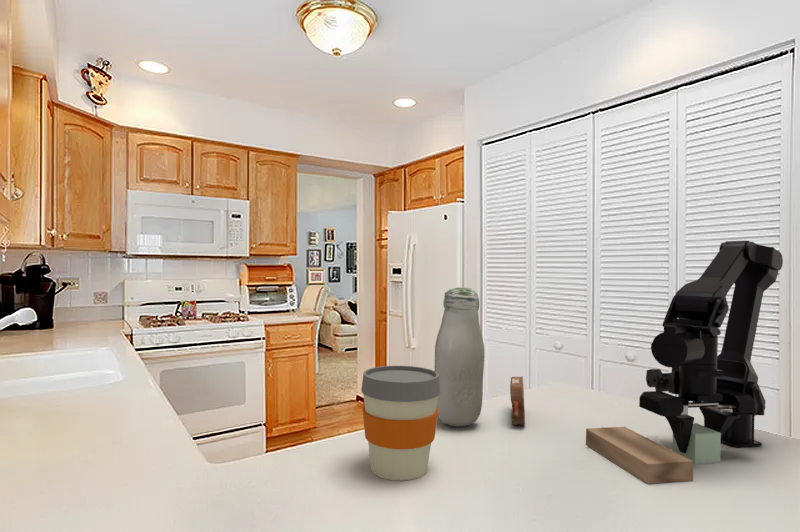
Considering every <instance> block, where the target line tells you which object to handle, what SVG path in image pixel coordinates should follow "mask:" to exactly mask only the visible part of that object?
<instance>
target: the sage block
mask: <svg viewBox="0 0 800 532" xmlns="http://www.w3.org/2000/svg"><path fill="white" fill-rule="evenodd" d="M721 445H722V442H721V433H720V432H717V431H715V430H712V429H710V428H707V427H705V426H704V425H703V424H702V425H701V424H699V423H697V422H695V423H693V427H692V431H691V436H690V440H689V445H688V448H687V451H686V453H682V452H680V451H679V449H678V446H677V443H676V440H675V438H674V435H673V434H672V447H671V450H672V451H674V452H676V453H678V454H680V455H682V456H684V457H686V458H688V459H690V460H692V461H693V465H702V464H703V465H704V464H716V463H717V464H718V463H721Z"/></svg>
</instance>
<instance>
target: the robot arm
mask: <svg viewBox="0 0 800 532" xmlns="http://www.w3.org/2000/svg"><path fill="white" fill-rule="evenodd" d="M718 250H719V251H718V252H717V254H716V255H715V256H714V258H713V259H712V260H711V262H710V263H709V264H708V266H707V267H706V268H705V270H704V271H703V273H702V274H701V275H700V277H699V278H698V279H696V280H694V281H690V282H687V283H685V284H684V285H683V286H682V287H681V288H680V289H678V290H677V292H676V293H675V294H674V295H673V296H672V298H671V301H670V304H669V307H668V309H667V311H666V314H665V317H664V320H663V321H662V327H663V331H662V332H660V333H658V334H657V335H656V336H655V337H654V338H653V340H652V343H651V344H650V350H651V354H652V356H653V359H655V361H656V362H657V363H658V364H660V365H662V366H664V367H665V368H671V372H662V370H661V369H660V368H651V369H647V370H646V373H645V381H646V385H647V387H648V388H654V391H653V390H652V391H651V390H650V391H643V392H642V393H641V394H640V395H639V400H638V401H639V402H638V403H639V405H638V407H639V408H641V409H644V410H646V411H648V412H651V413H652V414H653V413H654V414H655V415H658V416H660V417H664V418H665V419H666V420H667V422H668V424H669V427H670V429H671V432H672V436H673V435H674V438H675V440H676V443H677V446H678V449H679V451H680V452H682V453H686V451H687V448H688V445H689V440H690V436H691V431H692V427H693V424H694V421H695V417H694V416H692V415H689V409H690V408H698V409H699V410H700V413H701V414H702V416H703V426H705V427H707V428H710V429H712V430H715V431H717V432H720V433H721V443H723V444H725V445H728V446H730V447H733V448H739V447H740V448H741V447H742V448H743V447H753V446H754V447H756V446H757V447H759V446H762V444H763V442H761V441H759V440H756V439H755V417H756V416H765V410H766V400H765V397H764V395H763V392H762V389H761V387H760V386H759V384H758V382H759V376H758V374H757V372H756V370H755V369H754V367H753V365H752V362H751V360H752V359H751V358H752V354H753V349H754V344H755V337H756V333H757V327H758V322H759V318H760V312H761V307H762V301H763V296H764V292H765V291H766V290H767V289H768V288H770V287H771V286H772V285H773V284H775V283H776V281H777V278H778V274H779V271H781V269H782V268H783V263H784V259H783V254H782V253H781V252H780V251H779V250H777V248H775V247H774V246H767V245H762V244H758V243H755V242H754V241H750V240H730V241H729V240H728V241H727V240H726V241H725V242H721V243H720V245H719V249H718ZM733 285H734V288H733V289H734V290H733V294H732V300H731V303H730V308H729V304H728V300H727V295H728V292H729V291H730V290H731V288H732V287H733ZM728 313H729V314H728ZM727 314H728V318H727V322H726V327H725V333H724V337H723V343H722V347H721V352H720V353H719V352H718V351H719V350H718V347H719V346H718V345H719V344H718V343H719V342H718V341H719V340H718V339H719V336H720V335H721V334H722V331H721V330H720V328H721V326H722V325H723V322H724V320H725V318H726V316H727ZM718 353H719V354H718ZM667 392H668V393H667ZM676 395H677V396H676Z"/></svg>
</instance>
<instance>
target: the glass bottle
mask: <svg viewBox="0 0 800 532" xmlns="http://www.w3.org/2000/svg"><path fill="white" fill-rule="evenodd" d="M478 295H479V294H478V293H477V291H475V290H474V289H473V288H471V287H470V288H469V287H454V288H451V289H448V290H447V291H446V292H444V297H443V308H444V310H443V315H442V317H441V324H440V327H439V328H438V332H437V335H436V339H435V345H434V370H433V371H436V372H437V373H438V374H439V382H440V395H439V396H438V400H437V407H436V408H437V409H438V418H437V419H439V420H440V421H441V422H442V423H443V424H445V425H447V426H451V427H459V428H460V427H465V426H469V425H472V424H474V423H475V422H476V421H477V420H478V419H479V417H480V415H481V412H482V407H483V393H484V392H483V390H484V387H483V386H484V371H485V359H486V358H485V357H486V356H485V344H484V338H483V335H482V329H481V325H480V319H479V317H480V316H479V309H480V299H479V296H478Z"/></svg>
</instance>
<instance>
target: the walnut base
mask: <svg viewBox="0 0 800 532" xmlns="http://www.w3.org/2000/svg"><path fill="white" fill-rule="evenodd" d="M585 446H587V447H588V448H590V449H592V450H593V451H595V452H596V453H598V454H600V455H601V456H602V457H604V458H605V459H607V460H609V461H610V462H612V463H613V464H615V465H616V466H618V467H620V468H622V469H623V470H624V471H626V472H628V473H629V474H631V475H632V476H634V477H636V478H637V479H639V480H640V481H642V482H643V483H645V484H646V485H653V484H664V483H665V484H667V483H680V482H690V481H691V482H693V480H694V463H693V461H692V460H690V459H688V458H686V457H684V456H682V455H680V454H678V453H676V452H674V451H672V449H670V448H668V447H666V446H664V445H662V444H660V443H658V442H656V441H654V440H652V439H650V438H649V437H646V436H644V435H643V434H640V433H639V432H636V431H634V430H632V429H631V428H629V427H626V426H611V427H595V428H593V427H592V428H591V427H590V428H588V427H587V428H585Z"/></svg>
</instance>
